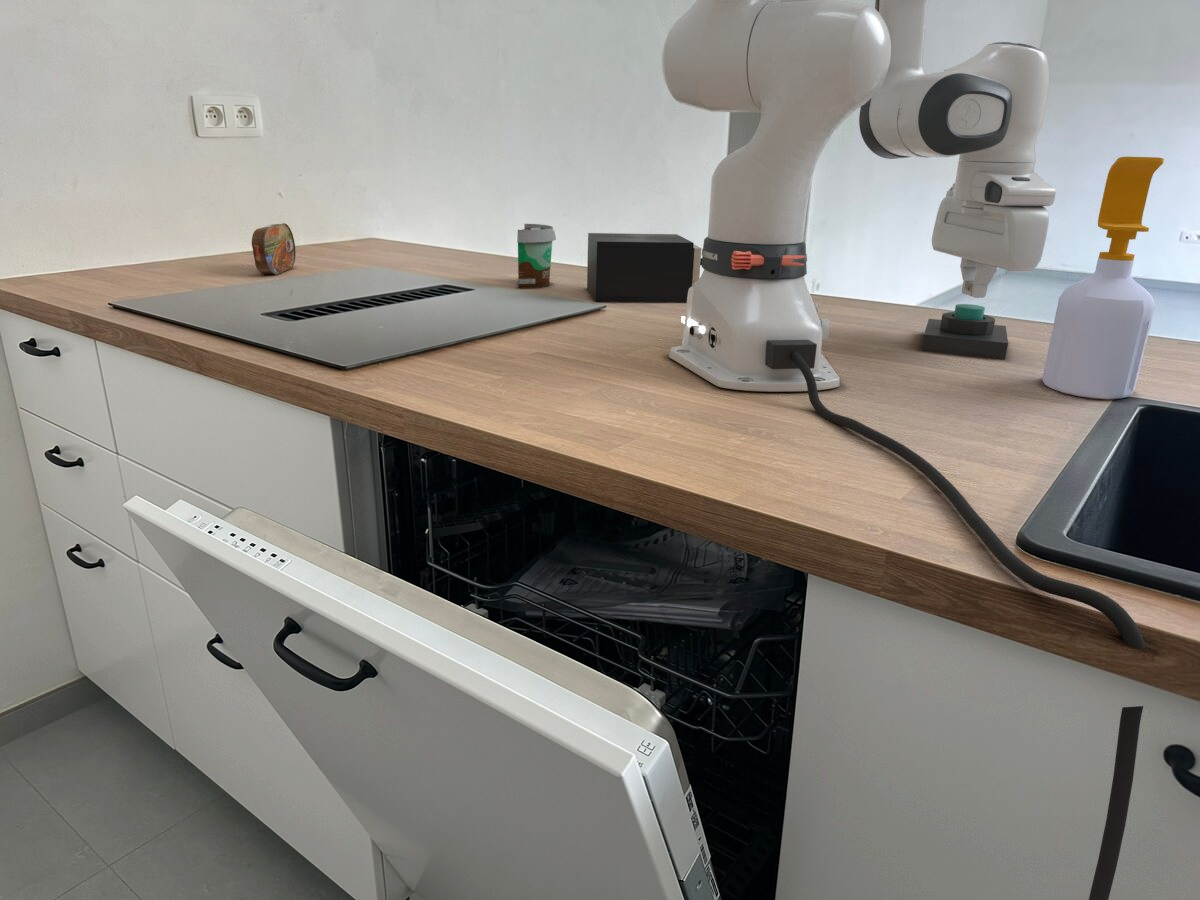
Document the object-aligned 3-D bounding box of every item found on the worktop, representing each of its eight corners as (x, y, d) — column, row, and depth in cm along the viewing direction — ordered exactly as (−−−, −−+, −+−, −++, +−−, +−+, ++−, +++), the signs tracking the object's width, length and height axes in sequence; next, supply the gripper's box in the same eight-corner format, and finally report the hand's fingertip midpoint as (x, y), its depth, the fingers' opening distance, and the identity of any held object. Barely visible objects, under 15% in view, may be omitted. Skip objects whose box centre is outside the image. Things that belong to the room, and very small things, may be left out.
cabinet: (674, 289, 152) (677, 234, 149) (690, 302, 141) (693, 242, 137) (586, 289, 150) (588, 232, 147) (595, 302, 139) (597, 241, 135)
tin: (269, 277, 153) (264, 229, 150) (251, 277, 153) (246, 228, 150) (298, 266, 167) (294, 221, 164) (282, 265, 167) (278, 220, 164)
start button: (982, 323, 112) (985, 309, 111) (953, 320, 113) (955, 307, 112) (982, 318, 115) (984, 305, 114) (953, 315, 116) (955, 303, 115)
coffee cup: (553, 290, 148) (553, 231, 144) (517, 289, 148) (517, 230, 145) (557, 279, 159) (558, 224, 156) (524, 278, 160) (524, 223, 156)
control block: (1005, 360, 108) (1011, 328, 107) (921, 351, 112) (926, 320, 110) (1002, 341, 118) (1008, 312, 117) (926, 333, 122) (930, 305, 121)
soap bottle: (1046, 394, 93) (1097, 155, 85) (1037, 375, 101) (1083, 155, 93) (1140, 404, 90) (1202, 158, 82) (1123, 383, 98) (1178, 157, 90)
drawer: (706, 285, 152) (709, 240, 150) (723, 296, 142) (726, 248, 139) (602, 284, 150) (603, 238, 147) (611, 295, 139) (612, 246, 137)
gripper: (928, 180, 117) (913, 282, 122) (1015, 191, 98) (993, 311, 103) (971, 181, 118) (955, 282, 123) (1065, 192, 99) (1041, 310, 104)
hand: (973, 295), depth 113 cm, fingers closed
